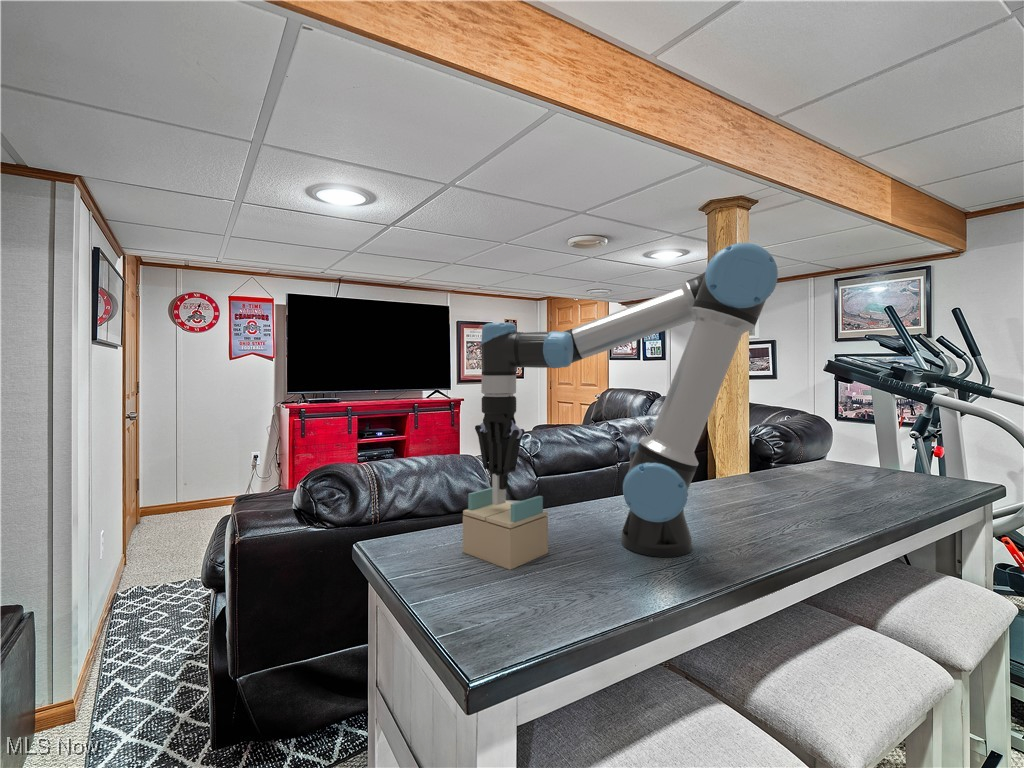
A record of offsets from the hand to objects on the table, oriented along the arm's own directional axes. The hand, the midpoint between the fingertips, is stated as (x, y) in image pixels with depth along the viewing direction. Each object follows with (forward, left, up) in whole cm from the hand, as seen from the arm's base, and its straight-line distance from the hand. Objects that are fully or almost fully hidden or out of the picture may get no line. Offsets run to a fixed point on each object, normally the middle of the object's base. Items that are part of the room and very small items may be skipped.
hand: (499, 503), depth 109 cm
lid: (+2, 0, -2) cm, 3 cm away
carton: (-2, 0, -11) cm, 11 cm away
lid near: (-5, 0, -2) cm, 6 cm away
